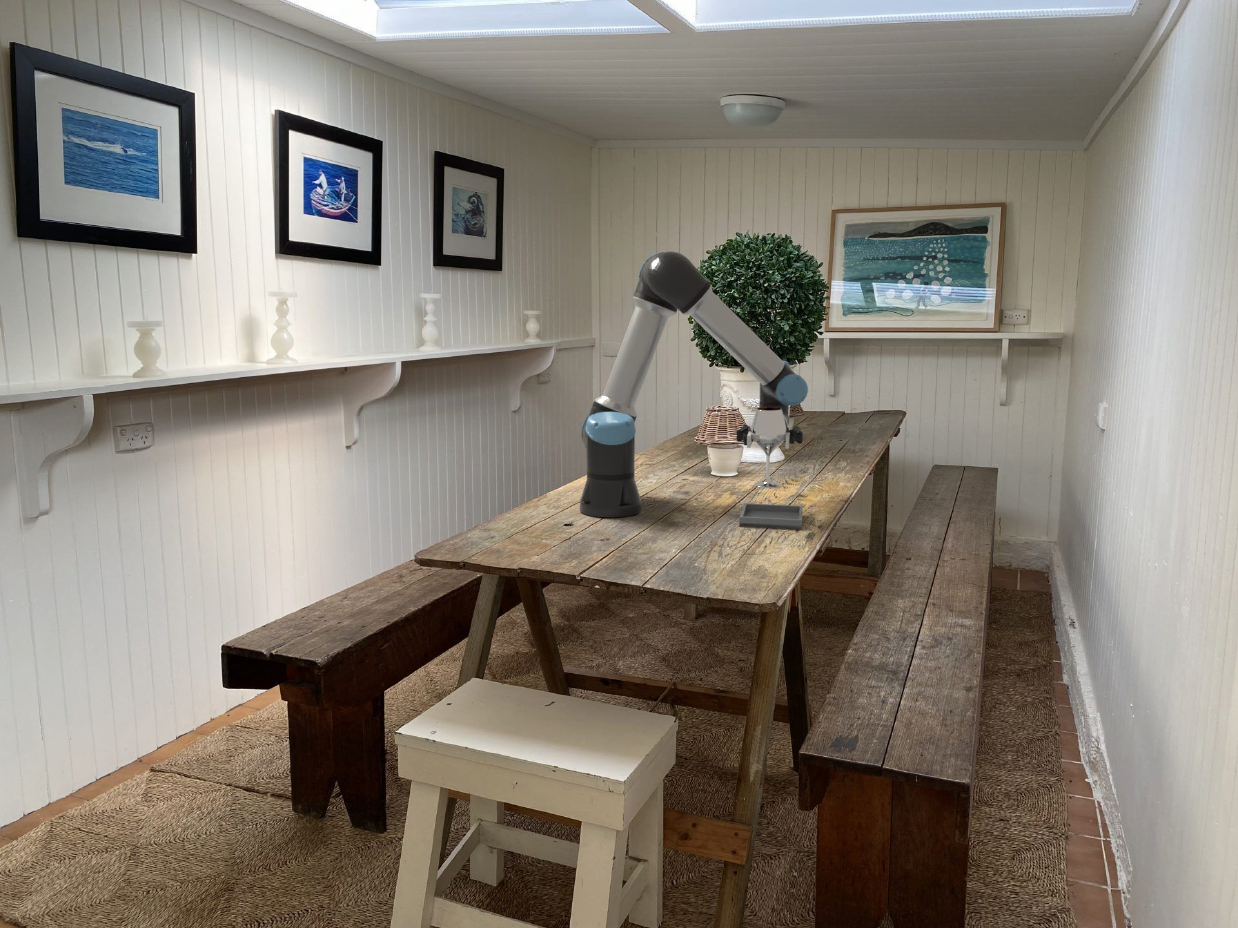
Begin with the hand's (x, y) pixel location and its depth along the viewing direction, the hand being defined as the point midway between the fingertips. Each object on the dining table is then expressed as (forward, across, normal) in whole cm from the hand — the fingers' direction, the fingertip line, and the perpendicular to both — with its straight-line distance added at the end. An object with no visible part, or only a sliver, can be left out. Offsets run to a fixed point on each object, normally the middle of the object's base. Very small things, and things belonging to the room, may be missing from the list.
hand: (767, 442), depth 215 cm
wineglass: (-5, 0, -11) cm, 12 cm away
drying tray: (-5, -1, -19) cm, 20 cm away
